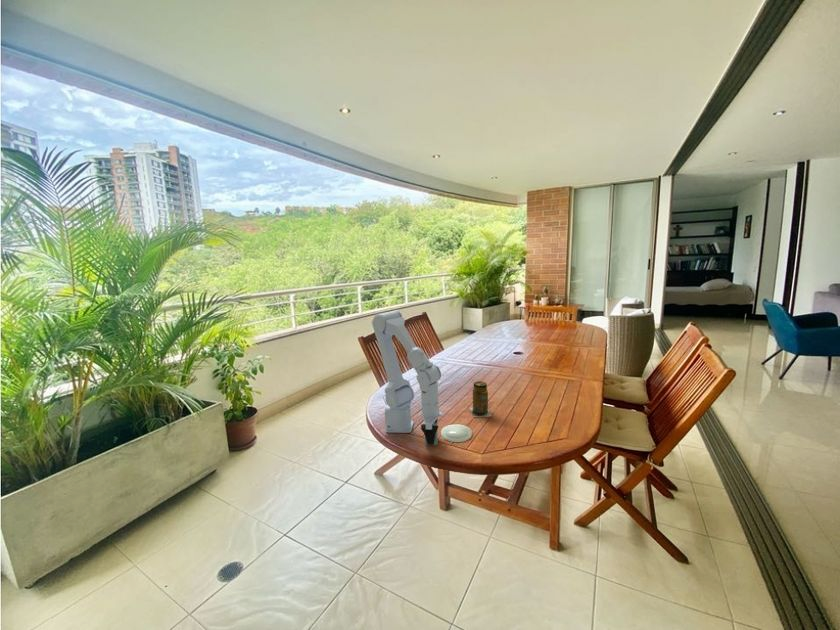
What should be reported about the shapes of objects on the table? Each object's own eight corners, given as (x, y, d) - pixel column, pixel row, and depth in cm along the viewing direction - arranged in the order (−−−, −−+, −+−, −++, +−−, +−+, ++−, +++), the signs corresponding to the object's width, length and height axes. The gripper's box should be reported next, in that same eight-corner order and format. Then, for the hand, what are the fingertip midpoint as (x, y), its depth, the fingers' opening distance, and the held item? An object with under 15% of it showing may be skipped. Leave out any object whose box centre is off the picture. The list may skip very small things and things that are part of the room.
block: (425, 444, 116) (424, 428, 114) (426, 438, 119) (425, 422, 118) (437, 445, 115) (436, 428, 114) (437, 438, 119) (437, 422, 118)
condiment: (486, 406, 141) (486, 379, 139) (492, 416, 133) (492, 387, 130) (469, 408, 141) (468, 380, 138) (473, 418, 132) (473, 389, 130)
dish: (440, 442, 117) (440, 439, 117) (442, 426, 128) (441, 423, 127) (472, 443, 116) (472, 440, 115) (471, 426, 126) (471, 424, 126)
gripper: (440, 411, 107) (442, 450, 109) (442, 392, 121) (444, 427, 124) (418, 411, 108) (420, 449, 110) (423, 392, 122) (424, 426, 124)
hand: (431, 437), depth 117 cm, fingers open, 7 cm apart
